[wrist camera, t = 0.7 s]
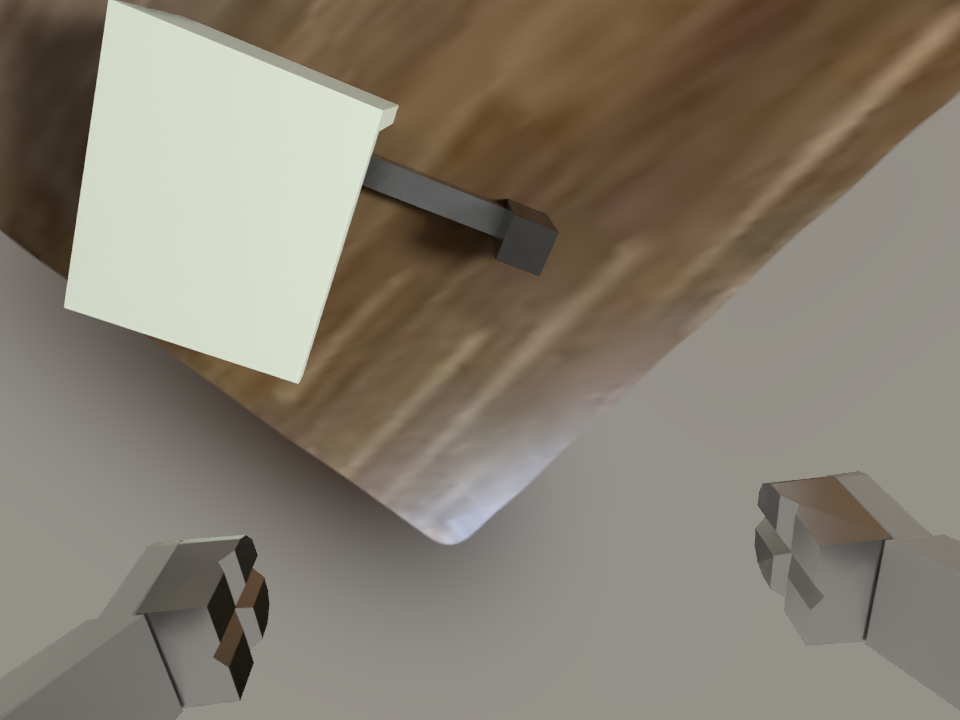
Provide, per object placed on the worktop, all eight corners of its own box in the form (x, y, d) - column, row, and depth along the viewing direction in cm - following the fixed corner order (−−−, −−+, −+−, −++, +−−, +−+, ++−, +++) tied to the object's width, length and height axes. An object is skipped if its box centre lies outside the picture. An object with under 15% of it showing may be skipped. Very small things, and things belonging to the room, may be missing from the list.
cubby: (183, 16, 39) (108, -2, 31) (398, 105, 42) (383, 110, 33) (137, 266, 46) (63, 307, 37) (326, 331, 48) (298, 383, 40)
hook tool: (293, 113, 42) (267, 117, 36) (546, 214, 45) (558, 232, 39) (265, 220, 45) (237, 239, 39) (506, 308, 48) (512, 337, 42)
